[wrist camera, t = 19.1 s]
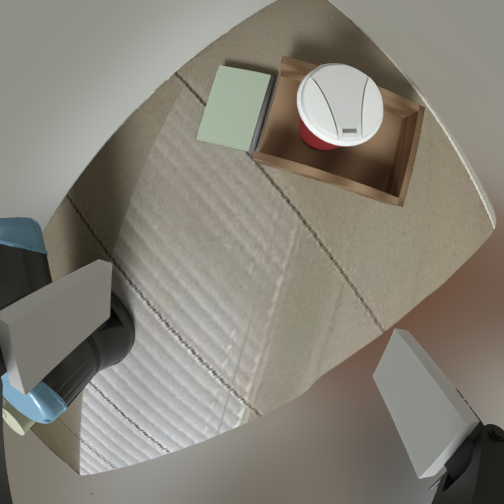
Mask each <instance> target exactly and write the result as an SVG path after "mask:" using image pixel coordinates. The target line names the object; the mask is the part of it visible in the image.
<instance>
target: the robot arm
mask: <svg viewBox="0 0 504 504" xmlns="http://www.w3.org/2000/svg"><path fill="white" fill-rule="evenodd" d="M47 255H48V253H47V250H46V249H45V245H44V240H43V236H42V231H41V227H40V225H39V224H38V222H37V221H35V220H34V219H32V218H25V217H24V218H23V217H22V218H21V217H16V218H0V504H13V503H12V498H11V493H10V487H9V482H8V475H7V468H6V460H5V451H4V439H3V409H2V407H3V405H2V401H3V396H4V397H5V398H6V399H7V401H8V402H9V403H10V404H11V405H13V406H14V407H15V408H16V409H17V410H18V411H19V412H21V413H22V414H24V415H25V416H27V417H28V418H30V419H32V420H34V421H36V422H39V423H50V422H53V421H54V420H55V419H56V418H57V417H58V416H59V415H60V414H61V413H62V412H64V411H66V410H67V408H68V406H69V405H70V404H71V403H72V402H73V400H74V399H75V398H76V397H77V396H78V394H79V393H80V392H81V391H82V390H83V389H84V387H85V386H86V385H87V384H88V383H89V381H90V380H91V379H92V378H93V377H94V376H95V375H96V373H97V372H98V371H101V370H103V369H105V368H107V367H109V366H112V365H115V364H117V363H119V362H121V361H122V360H123V359H124V358H125V357H126V356H127V354H128V353H129V352H130V350H131V349H132V346H133V343H134V328H133V324H132V321H131V318H130V316H129V314H128V312H127V310H126V308H125V307H124V305H123V304H122V303H121V301H120V300H119V299H118V298H117V297H116V296H115V295H114V294H113V293H112V292H111V280H112V265H113V263H110V262H107V261H103V260H100V259H98V260H96V261H94V262H92V263H90V264H88V265H86V266H84V267H82V268H80V269H78V270H76V271H74V272H72V273H70V274H68V275H66V276H64V277H62V278H60V279H58V280H56V281H54V282H52V278H51V274H50V269H49V264H48V259H47ZM373 378H374V380H375V382H376V384H377V387H378V389H379V391H380V393H381V395H382V397H383V399H384V401H385V403H386V405H387V408H388V410H389V412H390V414H391V416H392V419H393V420H394V423H395V425H396V427H397V429H398V432H399V434H400V436H401V438H402V441H403V443H404V446H405V448H406V450H407V452H408V455H409V457H410V460H411V462H412V464H413V467H414V469H415V471H416V474H417V476H418V478H424V477H430V476H434V475H435V474H436V473H437V472H438V471H439V470H440V469H441V468H442V467H443V466H444V465H445V467H446V469H447V471H446V472H445V473H444V474H443V475H442V476H441V478H439V479H438V480H437V481H436V482H435V483H434V484H433V485H432V486H431V487H430V489H429V490H430V491H431V490H432V489H433V488H435V487H436V486H438V488H437V490H436V491H435V493H436V494H435V496H434V499H433V501H432V504H504V431H503V430H502V429H501V428H500V427H498V426H496V425H493V424H487V425H486V426H484V425H483V423H482V422H481V420H480V419H479V418H478V416H477V415H476V414H475V413H474V411H473V410H472V408H471V407H470V406H468V403H467V402H466V400H464V398H463V396H462V395H461V394H460V392H459V391H458V390H457V389H456V388H454V386H453V385H452V384H451V382H450V381H449V380H448V379H447V378H446V376H445V375H444V374H443V373H442V371H441V370H440V369H439V367H438V366H437V365H436V364H435V363H434V361H433V360H432V359H431V358H430V357H429V355H428V354H427V353H426V352H425V351H424V349H423V348H422V347H421V346H420V345H419V343H418V342H417V341H416V340H415V339H414V337H413V336H412V335H411V334H410V333H409V332H408V331H407V330H401V329H394V331H393V334H392V336H391V338H390V340H389V343H388V345H387V347H386V349H385V351H384V354H383V356H382V358H381V360H380V362H379V364H378V366H377V368H376V371H375V372H374V374H373Z"/></svg>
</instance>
